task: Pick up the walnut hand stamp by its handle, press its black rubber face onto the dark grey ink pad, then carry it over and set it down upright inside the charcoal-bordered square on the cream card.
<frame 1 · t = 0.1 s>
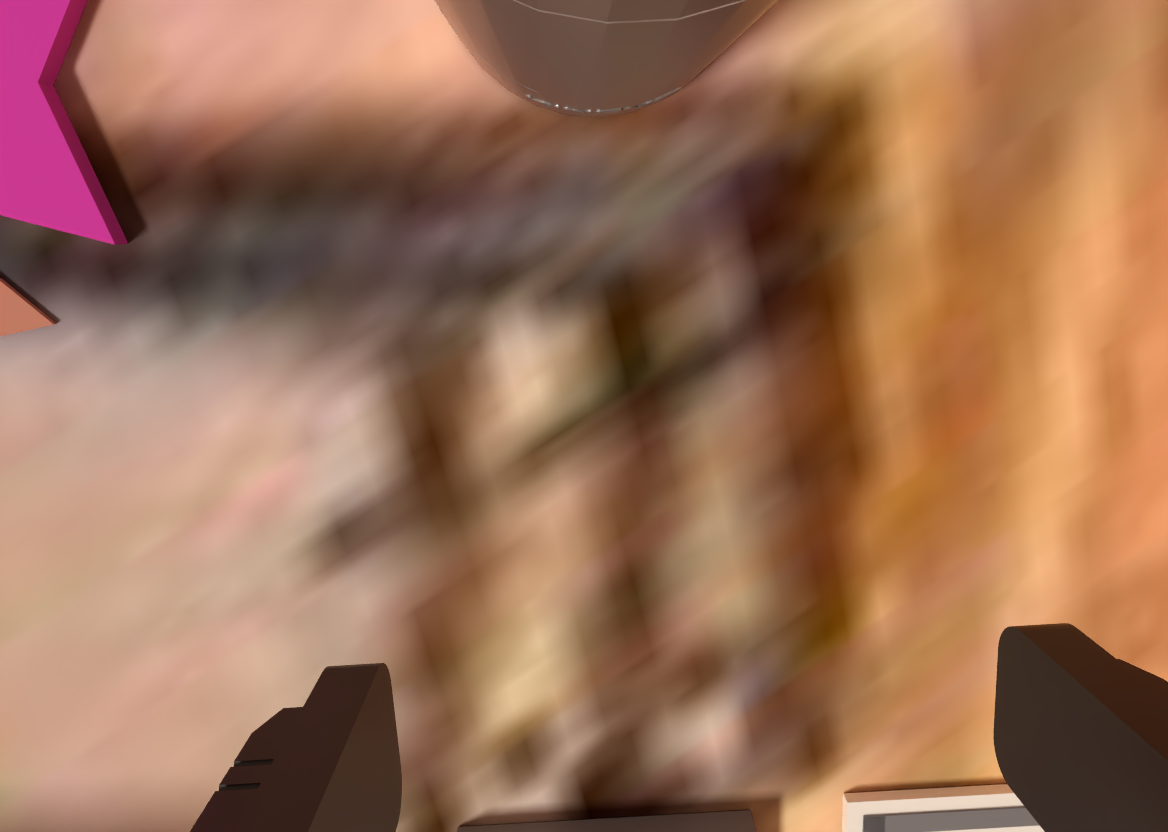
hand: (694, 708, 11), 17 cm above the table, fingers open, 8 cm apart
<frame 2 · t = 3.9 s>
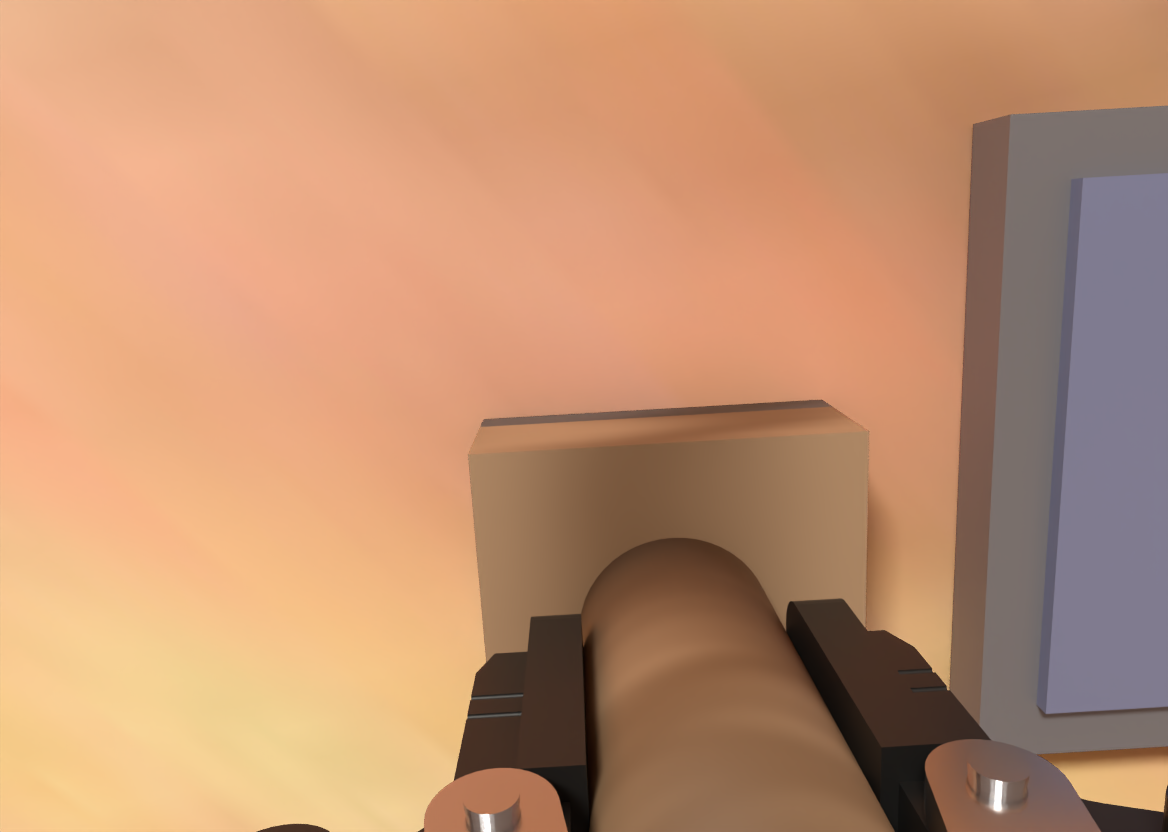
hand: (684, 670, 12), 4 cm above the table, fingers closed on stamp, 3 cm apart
stamp: (659, 568, 16), on the table, touching gripper
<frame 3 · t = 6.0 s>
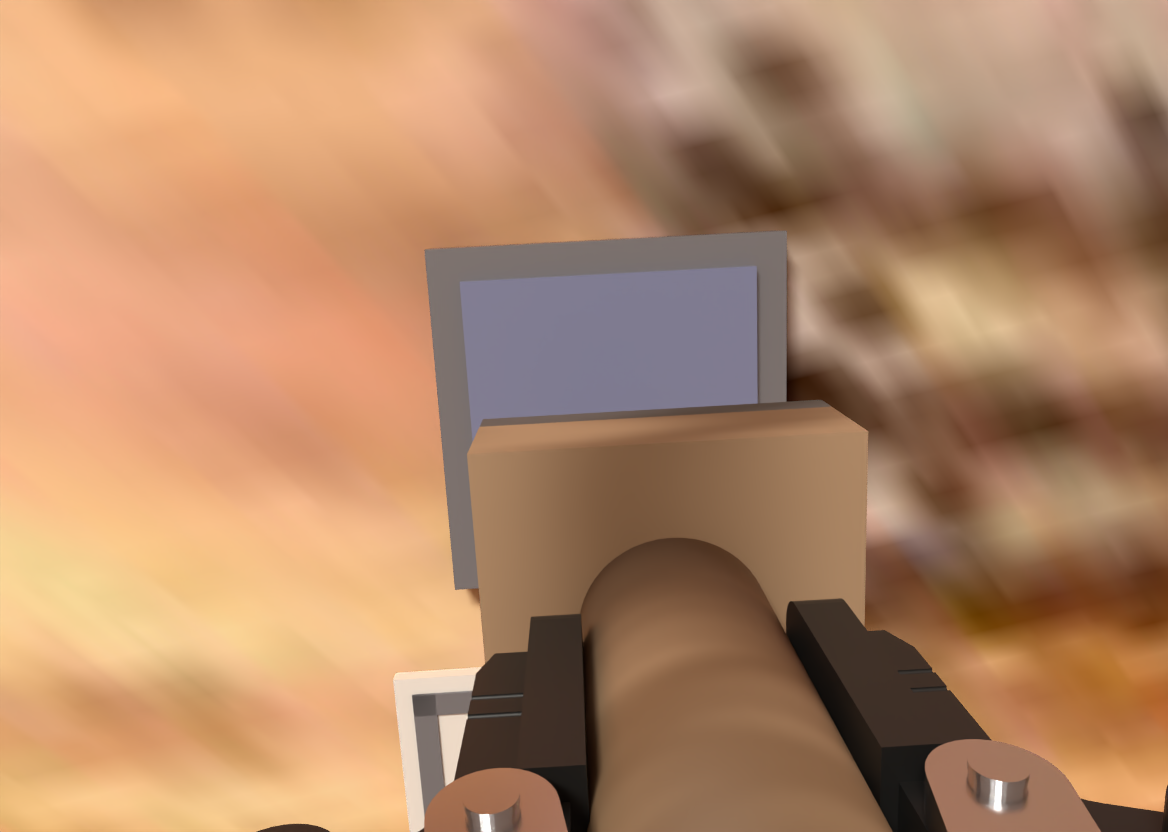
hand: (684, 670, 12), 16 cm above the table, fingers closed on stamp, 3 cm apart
ink pad: (611, 409, 28), on the table
marked card: (603, 831, 31), on the table
stamp: (658, 568, 16), point 13 cm above the table, touching gripper
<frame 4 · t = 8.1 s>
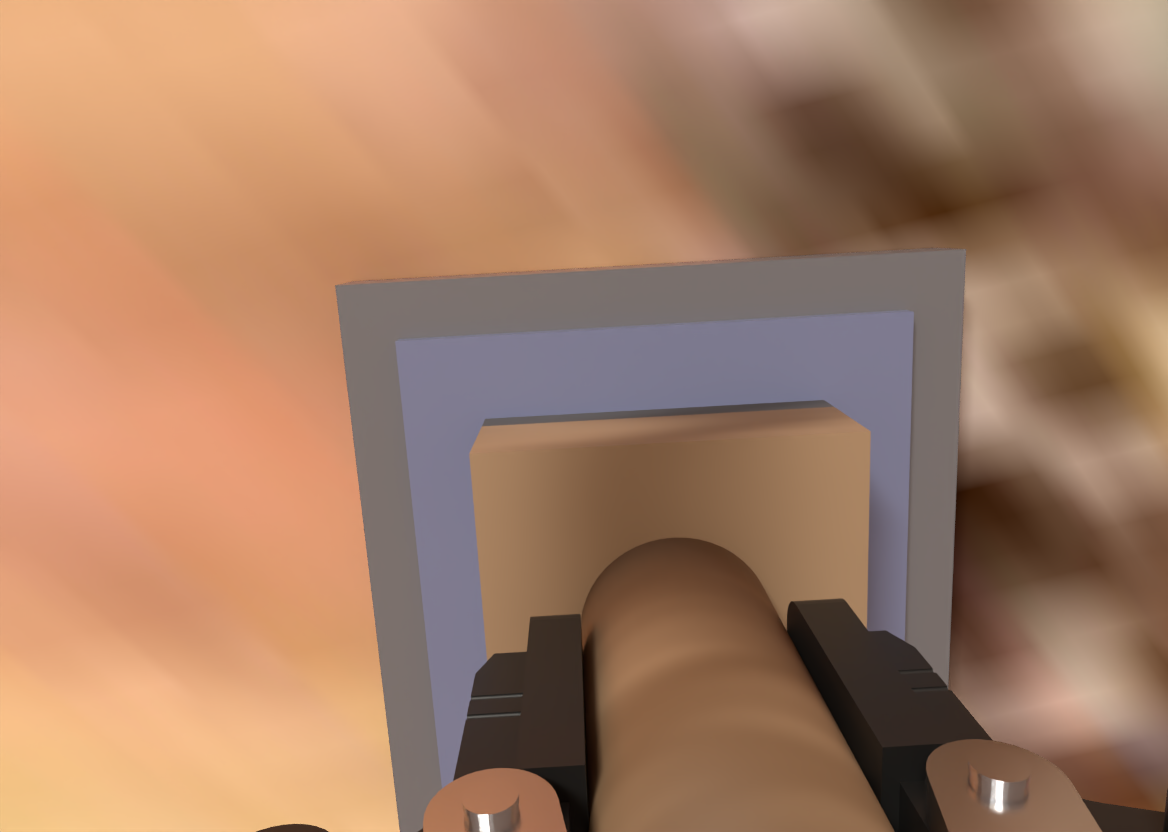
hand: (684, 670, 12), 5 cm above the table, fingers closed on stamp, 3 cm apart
ink pad: (656, 540, 17), on the table
stamp: (660, 568, 16), point 1 cm above the table, touching gripper, ink pad
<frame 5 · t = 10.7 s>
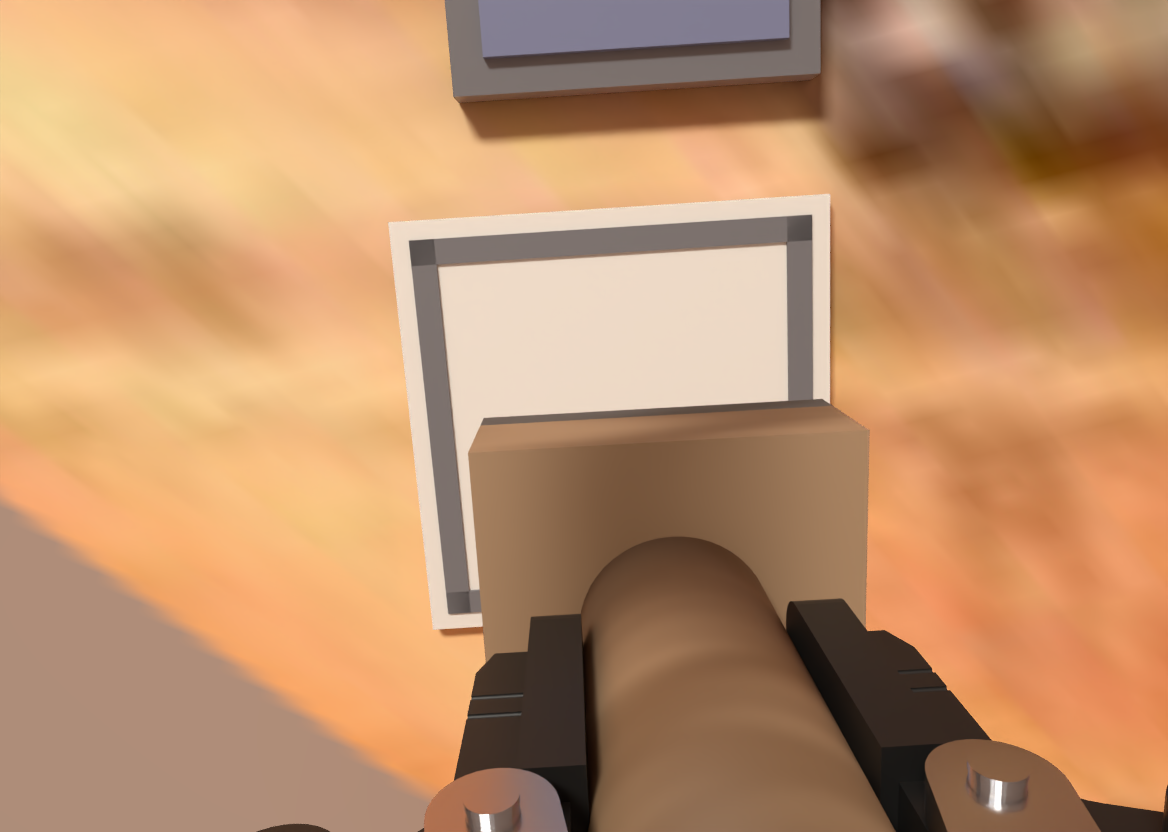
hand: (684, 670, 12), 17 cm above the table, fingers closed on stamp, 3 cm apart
marked card: (620, 420, 29), on the table
stamp: (658, 567, 16), point 13 cm above the table, touching gripper
when the fingers open (5 cm above the table, at t = 12.6 s): stamp stays where it is, resting on marked card.
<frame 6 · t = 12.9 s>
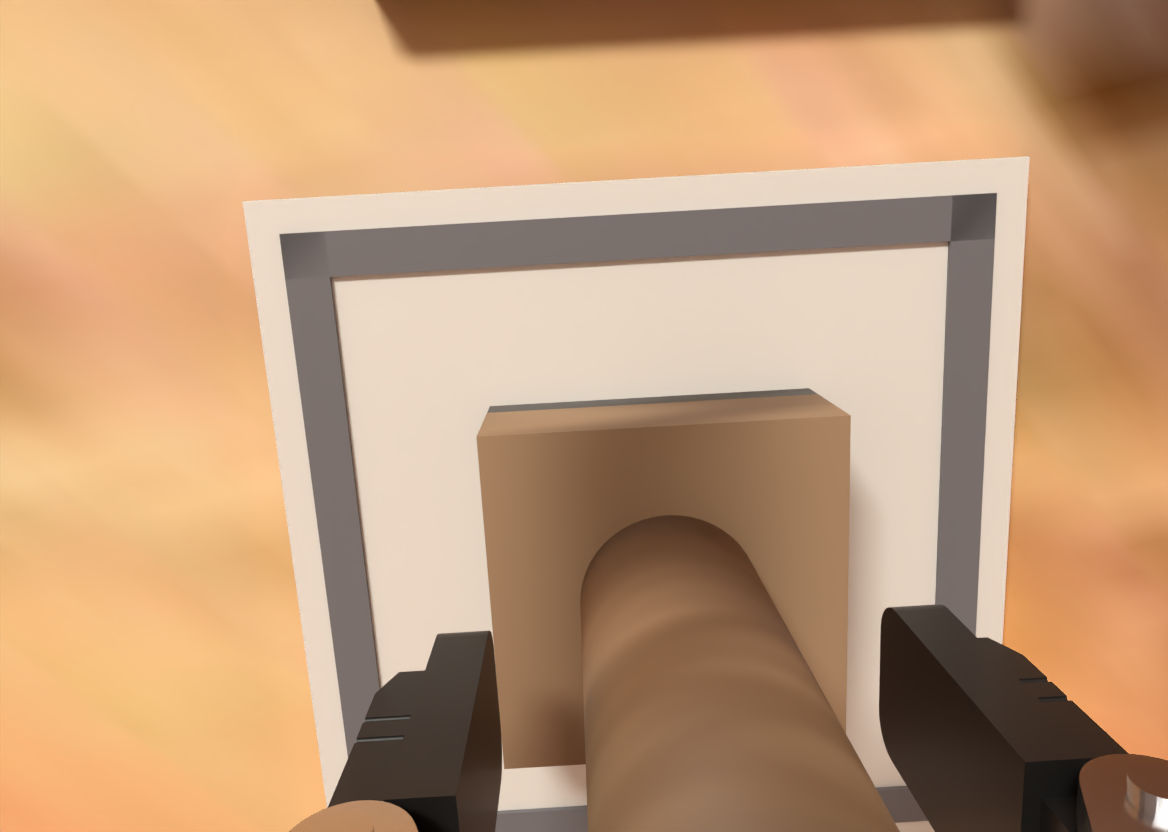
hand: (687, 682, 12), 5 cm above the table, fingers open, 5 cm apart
marked card: (649, 540, 17), on the table
stamp: (655, 547, 16), resting on marked card
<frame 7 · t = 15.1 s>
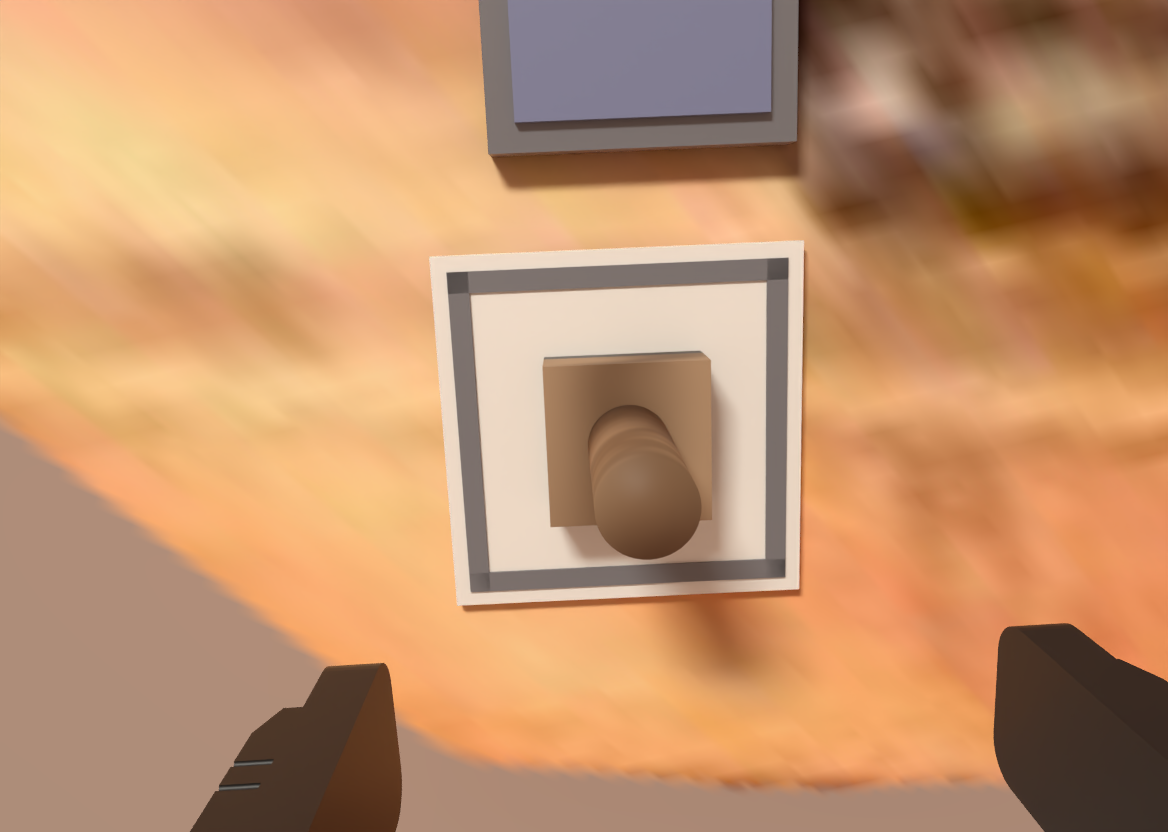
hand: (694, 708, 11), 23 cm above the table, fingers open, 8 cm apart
marked card: (622, 428, 33), on the table
stamp: (624, 429, 33), resting on marked card
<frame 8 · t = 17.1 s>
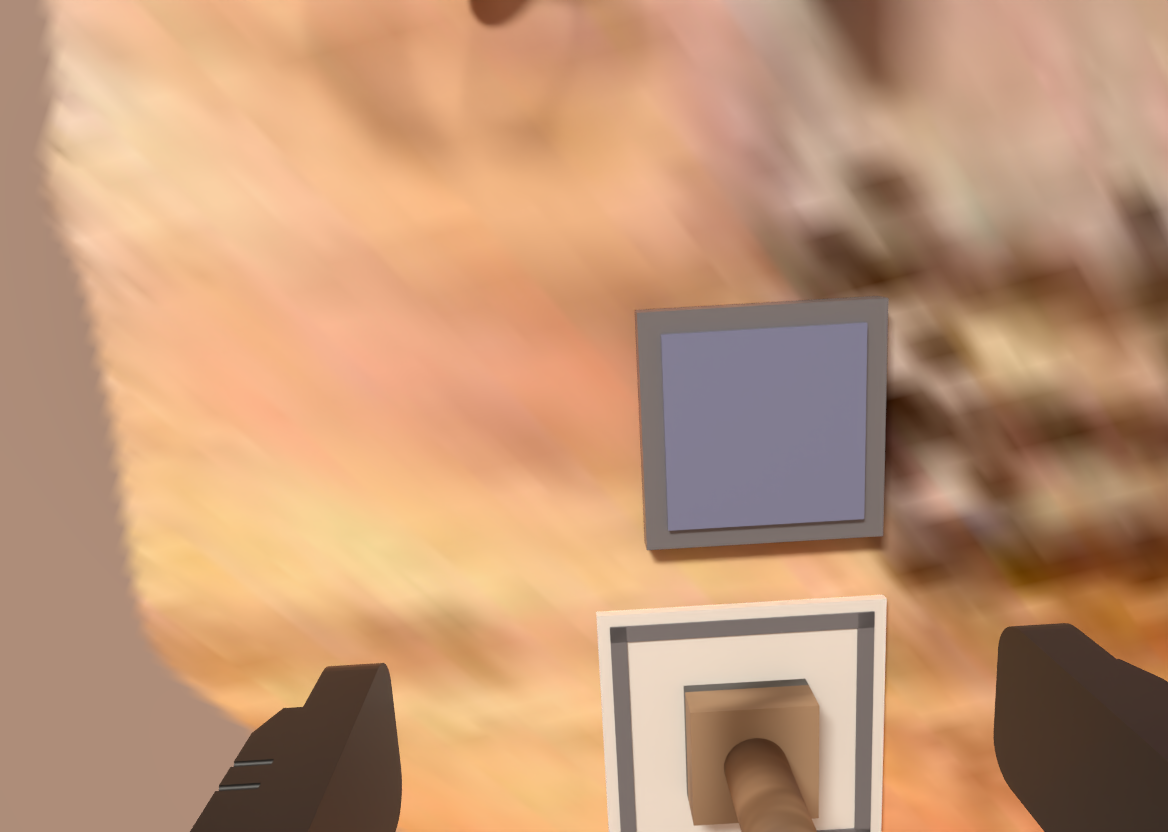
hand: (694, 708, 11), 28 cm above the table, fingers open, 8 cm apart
ink pad: (758, 422, 39), on the table
marked card: (741, 731, 43), on the table
stamp: (745, 736, 42), resting on marked card
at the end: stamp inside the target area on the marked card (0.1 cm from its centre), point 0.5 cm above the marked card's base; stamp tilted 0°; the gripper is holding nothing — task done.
